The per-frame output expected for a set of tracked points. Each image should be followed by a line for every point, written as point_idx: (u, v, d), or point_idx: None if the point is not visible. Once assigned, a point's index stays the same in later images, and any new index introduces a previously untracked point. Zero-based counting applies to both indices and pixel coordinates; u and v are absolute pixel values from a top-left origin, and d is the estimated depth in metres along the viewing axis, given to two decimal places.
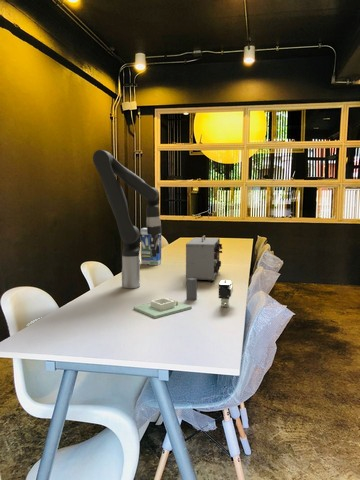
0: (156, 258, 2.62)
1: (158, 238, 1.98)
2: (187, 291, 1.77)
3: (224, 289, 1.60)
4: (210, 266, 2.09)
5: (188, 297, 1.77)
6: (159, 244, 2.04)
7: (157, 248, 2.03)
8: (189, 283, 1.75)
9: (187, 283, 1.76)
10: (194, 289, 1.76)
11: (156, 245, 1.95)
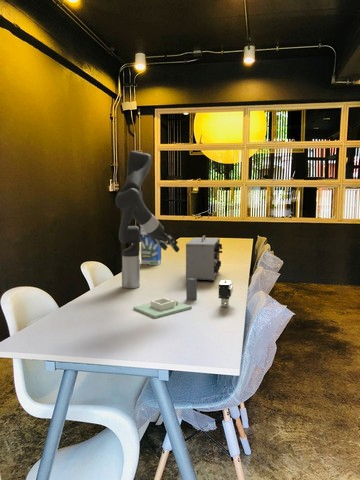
0: (156, 258, 2.62)
1: (159, 240, 1.63)
2: (187, 291, 1.77)
3: (224, 289, 1.60)
4: (210, 266, 2.09)
5: (188, 297, 1.77)
6: (173, 246, 1.61)
7: None
8: (189, 283, 1.75)
9: (187, 283, 1.76)
10: (194, 289, 1.76)
11: (158, 243, 1.68)
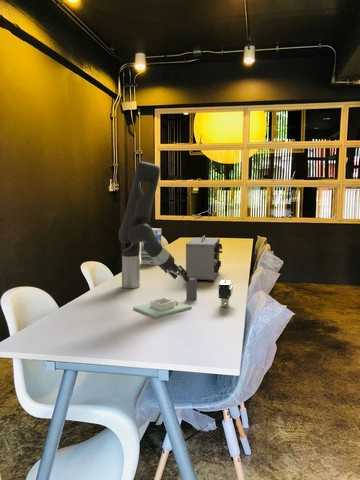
0: None
1: (170, 270, 1.66)
2: (187, 291, 1.77)
3: (224, 289, 1.60)
4: (210, 266, 2.09)
5: (188, 297, 1.77)
6: (183, 276, 1.65)
7: None
8: (189, 283, 1.75)
9: (187, 283, 1.76)
10: (194, 289, 1.76)
11: (168, 272, 1.71)
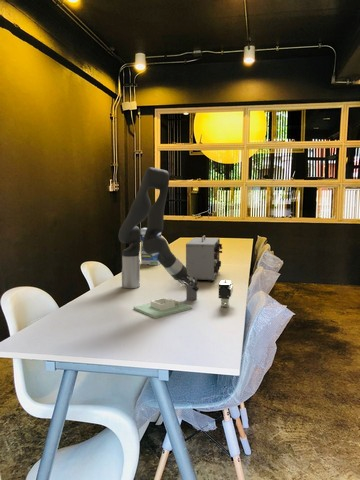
0: (156, 258, 2.62)
1: (182, 280, 1.72)
2: (187, 291, 1.77)
3: (224, 289, 1.60)
4: (210, 266, 2.09)
5: (188, 297, 1.77)
6: (193, 286, 1.73)
7: None
8: None
9: None
10: None
11: (183, 283, 1.76)
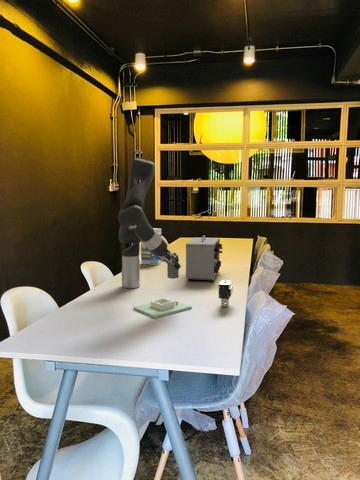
0: (156, 258, 2.62)
1: (162, 256, 1.60)
2: (168, 269, 1.65)
3: (224, 289, 1.60)
4: (210, 266, 2.09)
5: (169, 275, 1.64)
6: (174, 263, 1.61)
7: None
8: None
9: None
10: None
11: (164, 260, 1.64)
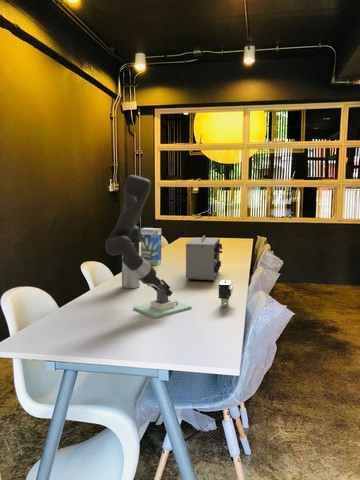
0: (156, 258, 2.62)
1: (151, 284, 1.57)
2: (157, 298, 1.62)
3: (224, 289, 1.60)
4: (210, 266, 2.09)
5: None
6: None
7: None
8: None
9: (157, 289, 1.61)
10: (165, 296, 1.61)
11: (151, 286, 1.62)
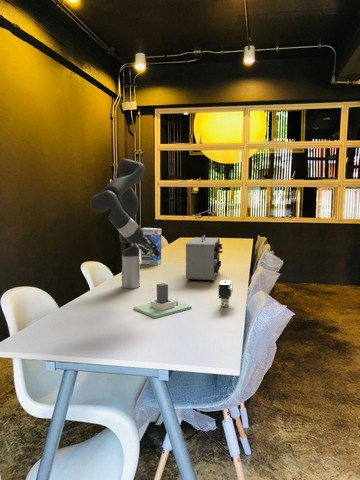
0: (156, 258, 2.62)
1: (138, 244, 1.55)
2: (157, 298, 1.62)
3: (224, 289, 1.60)
4: (210, 266, 2.09)
5: None
6: (153, 250, 1.53)
7: None
8: (159, 289, 1.60)
9: (157, 289, 1.61)
10: (165, 296, 1.61)
11: None
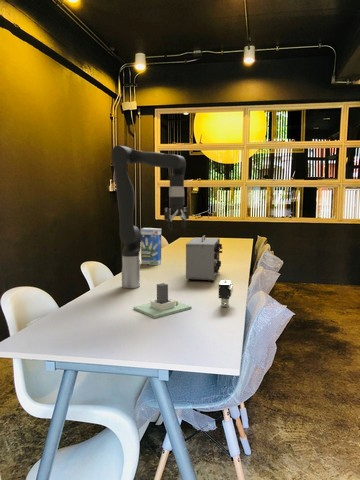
0: (156, 258, 2.62)
1: (180, 210, 1.84)
2: (157, 298, 1.62)
3: (224, 289, 1.60)
4: (210, 266, 2.09)
5: None
6: (187, 218, 1.89)
7: (183, 222, 1.88)
8: (159, 289, 1.60)
9: (157, 289, 1.61)
10: (165, 296, 1.61)
11: (173, 217, 1.82)
